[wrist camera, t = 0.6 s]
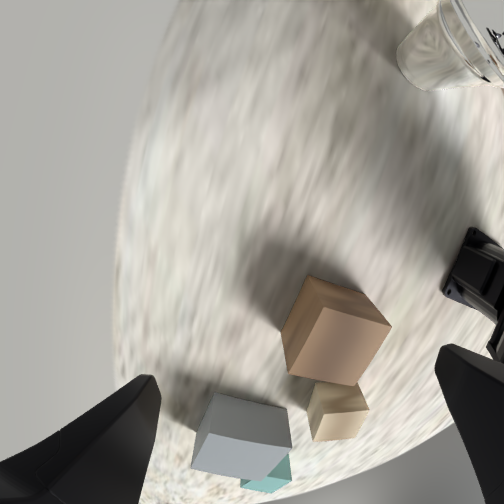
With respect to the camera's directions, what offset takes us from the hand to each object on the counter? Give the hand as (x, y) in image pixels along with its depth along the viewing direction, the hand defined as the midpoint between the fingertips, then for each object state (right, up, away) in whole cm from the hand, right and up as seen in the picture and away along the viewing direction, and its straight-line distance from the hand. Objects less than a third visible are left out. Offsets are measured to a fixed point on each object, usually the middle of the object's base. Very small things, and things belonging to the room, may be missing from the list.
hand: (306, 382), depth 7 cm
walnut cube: (+4, -1, +13) cm, 14 cm away
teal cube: (0, -20, +19) cm, 28 cm away
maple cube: (+6, -10, +16) cm, 20 cm away
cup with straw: (+12, +18, +8) cm, 23 cm away
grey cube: (-3, -13, +17) cm, 22 cm away
